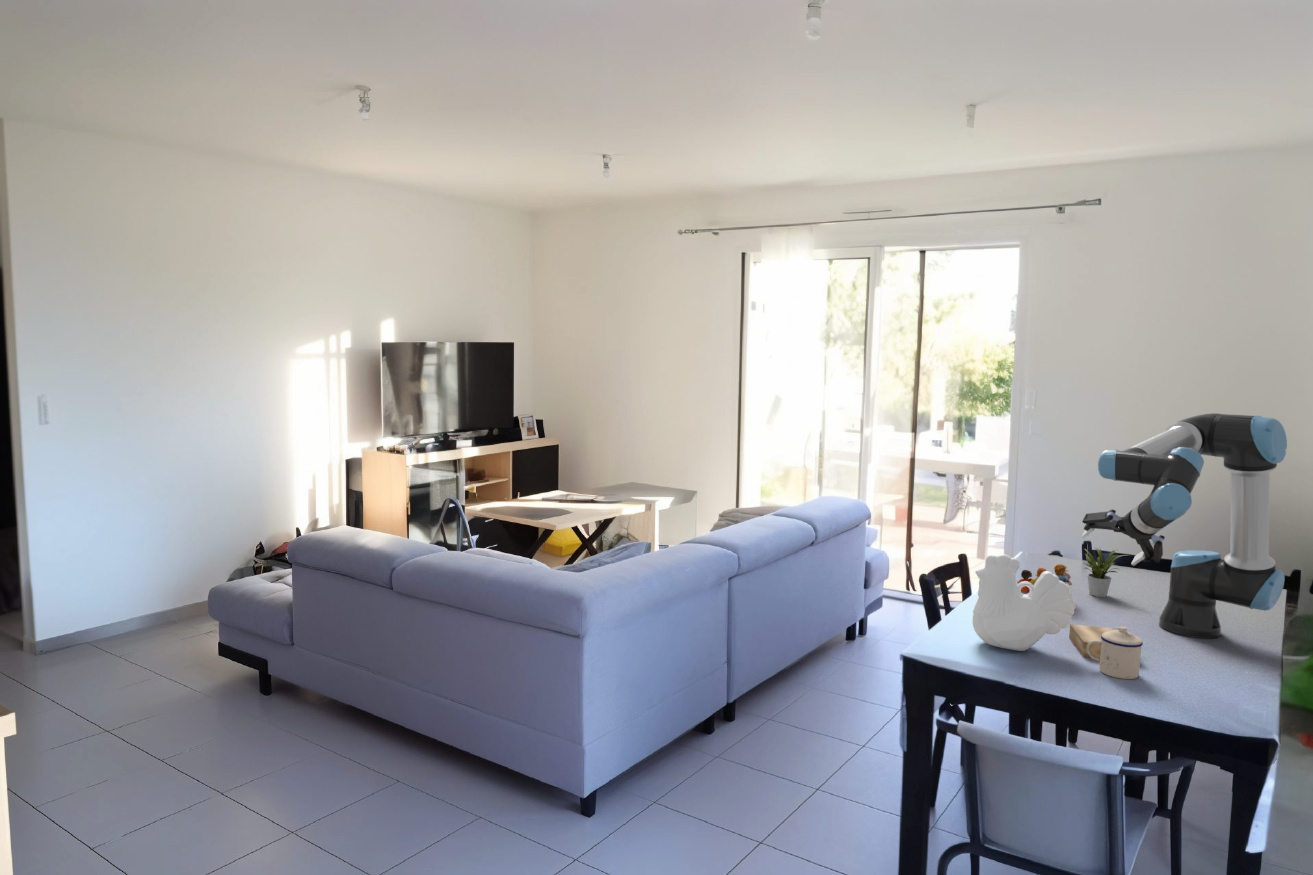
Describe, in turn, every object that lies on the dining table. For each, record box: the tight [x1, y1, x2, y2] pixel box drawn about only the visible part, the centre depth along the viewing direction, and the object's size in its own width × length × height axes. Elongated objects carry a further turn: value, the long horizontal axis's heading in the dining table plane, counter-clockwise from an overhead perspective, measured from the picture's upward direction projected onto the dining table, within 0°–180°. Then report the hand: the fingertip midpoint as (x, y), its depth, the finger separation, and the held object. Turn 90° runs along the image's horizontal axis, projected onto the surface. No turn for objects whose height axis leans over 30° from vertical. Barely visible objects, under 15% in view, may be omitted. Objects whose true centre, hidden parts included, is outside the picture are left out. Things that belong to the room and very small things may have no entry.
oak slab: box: [1068, 623, 1118, 659], centre depth 228 cm, size 13×15×4 cm
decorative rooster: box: [972, 553, 1077, 652], centre depth 226 cm, size 25×16×25 cm, turn 66°
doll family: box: [1016, 563, 1073, 594], centre depth 268 cm, size 21×10×13 cm, turn 108°
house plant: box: [1081, 547, 1130, 598], centre depth 282 cm, size 14×14×16 cm
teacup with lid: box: [1087, 626, 1144, 680], centre depth 212 cm, size 12×9×12 cm
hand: (1109, 547), depth 228 cm, fingers open, 13 cm apart
